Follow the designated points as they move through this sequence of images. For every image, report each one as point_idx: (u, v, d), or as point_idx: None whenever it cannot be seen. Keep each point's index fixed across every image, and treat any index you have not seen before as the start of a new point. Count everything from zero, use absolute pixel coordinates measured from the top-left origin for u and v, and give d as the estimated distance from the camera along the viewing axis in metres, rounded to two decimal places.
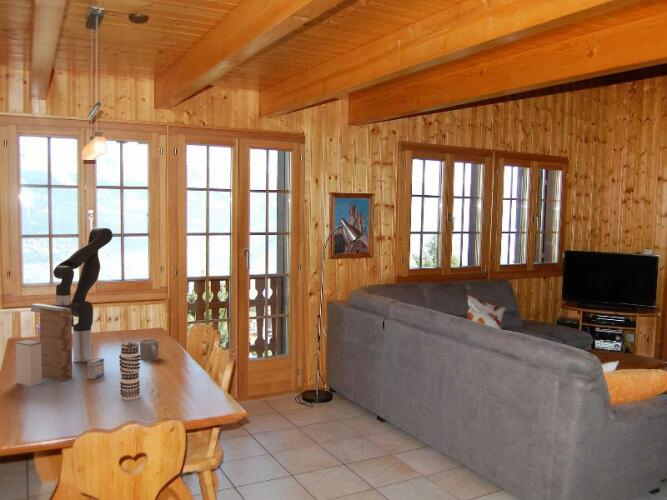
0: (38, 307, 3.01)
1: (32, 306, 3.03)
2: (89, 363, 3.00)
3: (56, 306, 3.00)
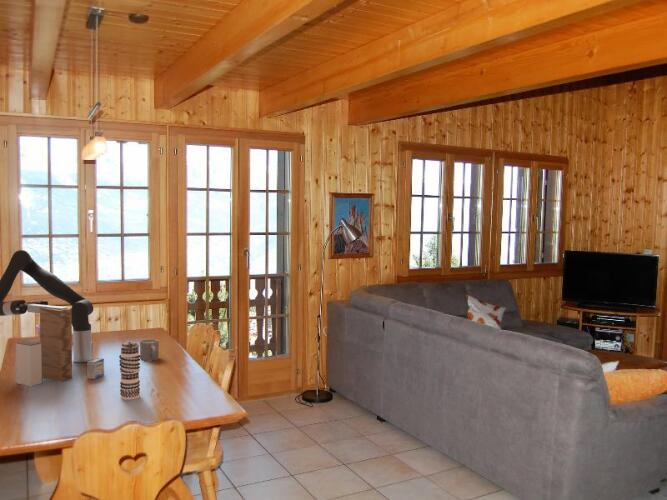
0: (36, 307, 3.00)
1: (29, 306, 3.02)
2: (89, 363, 3.00)
3: (55, 306, 3.00)
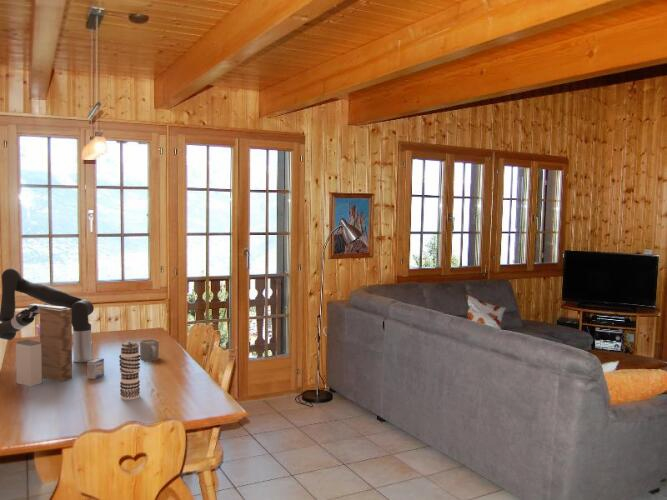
0: None
1: (30, 306, 3.02)
2: (89, 363, 3.00)
3: (55, 306, 3.00)
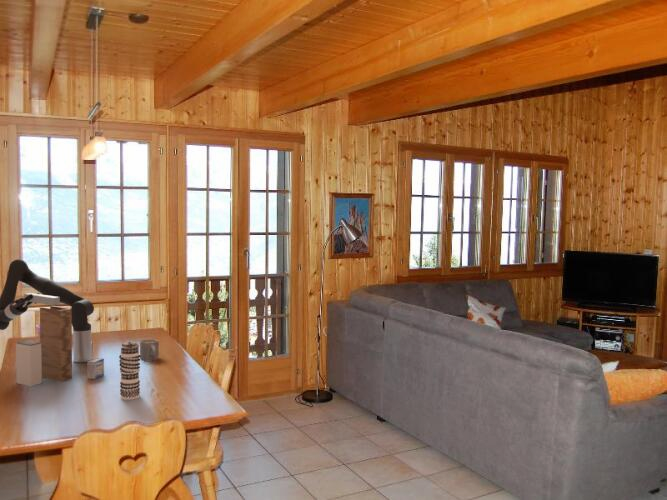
0: None
1: (25, 295, 3.05)
2: (89, 363, 3.00)
3: (49, 296, 3.01)
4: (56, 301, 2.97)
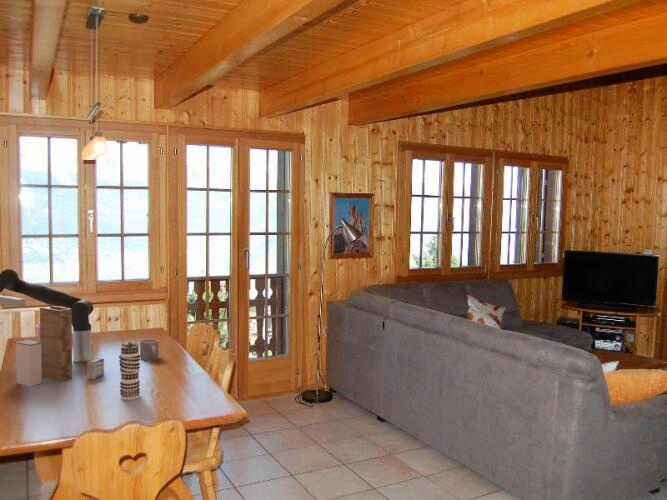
0: None
1: None
2: (89, 363, 3.00)
3: (14, 297, 2.94)
4: (21, 302, 2.90)
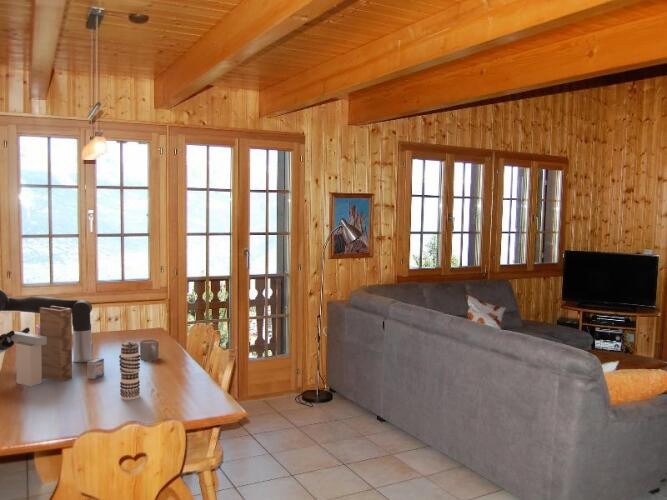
0: (17, 336, 2.90)
1: None
2: (89, 363, 3.00)
3: (36, 335, 2.89)
4: (42, 341, 2.85)
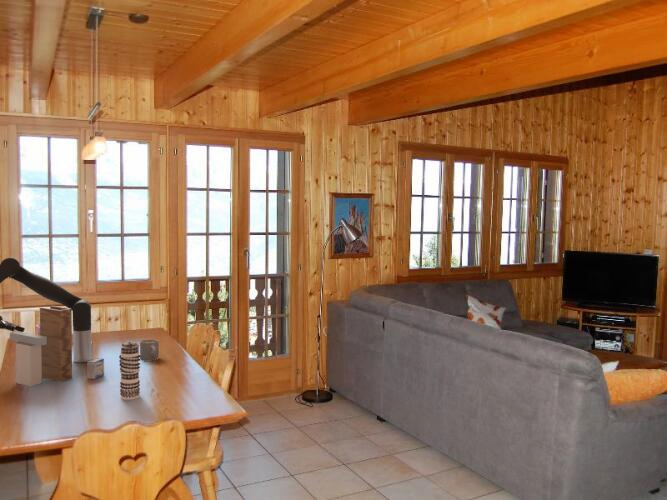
0: (17, 336, 2.90)
1: (11, 335, 2.92)
2: (89, 363, 3.00)
3: (36, 335, 2.89)
4: (42, 341, 2.85)
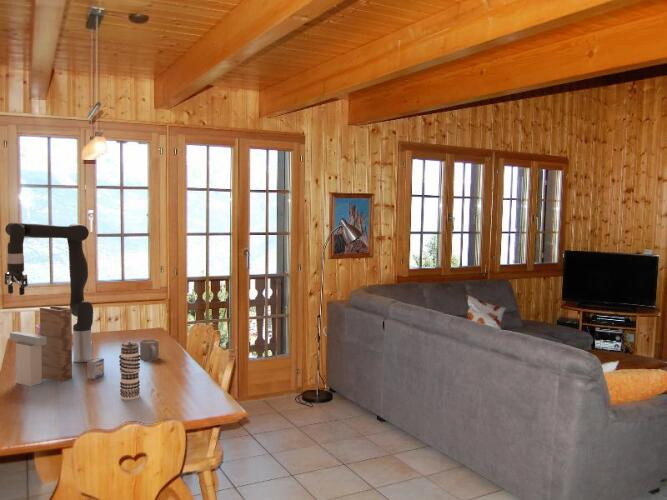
0: (17, 336, 2.90)
1: (11, 335, 2.92)
2: (89, 363, 3.00)
3: (36, 335, 2.89)
4: (42, 341, 2.85)
